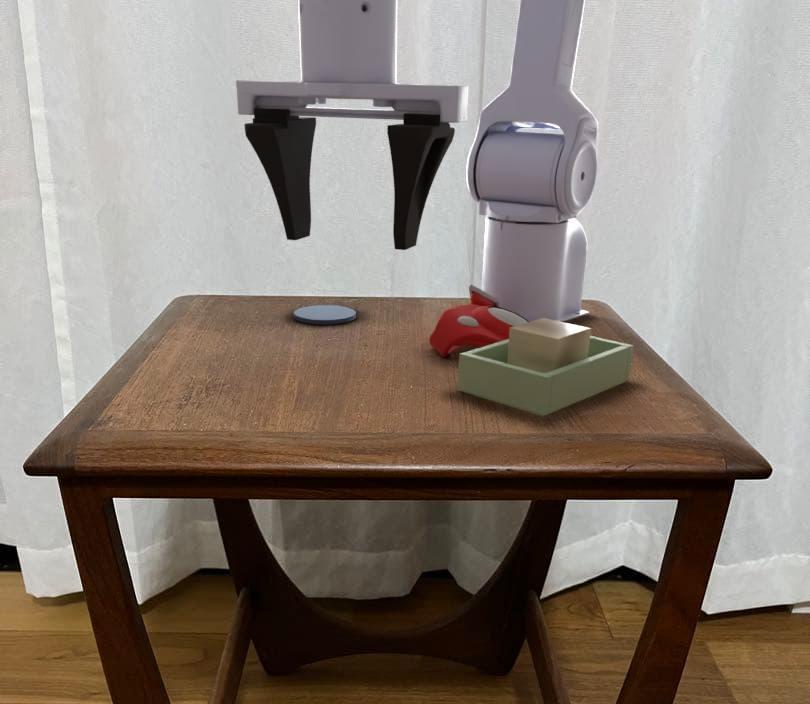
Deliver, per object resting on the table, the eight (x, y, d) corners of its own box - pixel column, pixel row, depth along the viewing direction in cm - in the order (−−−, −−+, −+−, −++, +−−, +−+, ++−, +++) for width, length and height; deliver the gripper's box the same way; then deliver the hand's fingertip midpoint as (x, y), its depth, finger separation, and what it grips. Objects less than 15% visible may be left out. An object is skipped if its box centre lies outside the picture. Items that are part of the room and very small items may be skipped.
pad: (327, 306, 83) (326, 302, 83) (368, 317, 80) (368, 312, 79) (281, 316, 79) (281, 311, 79) (322, 327, 76) (322, 323, 76)
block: (538, 372, 64) (543, 317, 62) (584, 384, 62) (591, 328, 60) (505, 384, 61) (509, 327, 60) (552, 397, 59) (558, 339, 57)
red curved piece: (581, 344, 68) (486, 330, 62) (557, 394, 70) (462, 385, 64) (495, 279, 76) (402, 261, 70) (475, 326, 78) (384, 312, 72)
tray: (545, 365, 67) (549, 326, 66) (628, 386, 63) (634, 345, 62) (457, 396, 60) (459, 353, 59) (542, 422, 56) (547, 377, 55)
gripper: (201, -8, 49) (221, 242, 56) (443, -11, 45) (434, 262, 51) (264, 1, 55) (275, 227, 62) (484, -1, 51) (471, 244, 57)
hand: (350, 242), depth 57 cm, fingers open, 7 cm apart
